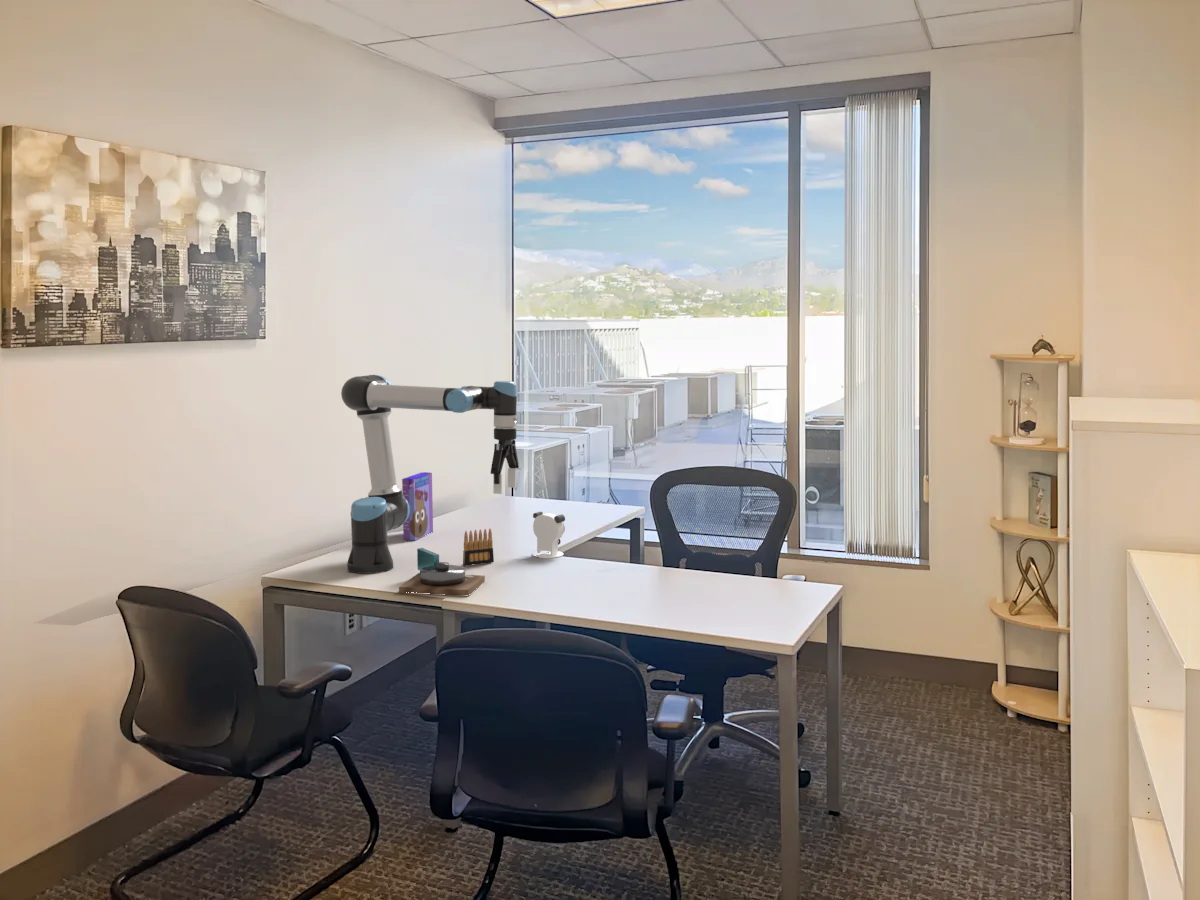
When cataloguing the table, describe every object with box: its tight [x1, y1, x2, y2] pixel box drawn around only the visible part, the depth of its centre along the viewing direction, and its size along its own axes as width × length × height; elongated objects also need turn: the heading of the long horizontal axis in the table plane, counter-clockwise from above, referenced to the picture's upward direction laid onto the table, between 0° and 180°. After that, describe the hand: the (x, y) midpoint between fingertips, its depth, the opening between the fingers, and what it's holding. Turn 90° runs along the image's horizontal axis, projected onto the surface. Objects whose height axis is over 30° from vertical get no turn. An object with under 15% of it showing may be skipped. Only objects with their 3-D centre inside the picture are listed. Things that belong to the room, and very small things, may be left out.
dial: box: [416, 547, 466, 585], centre depth 317 cm, size 23×14×7 cm, turn 36°
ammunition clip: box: [462, 528, 495, 566], centre depth 345 cm, size 11×2×12 cm, turn 118°
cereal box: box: [401, 471, 434, 542], centre depth 390 cm, size 17×5×24 cm, turn 167°
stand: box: [398, 572, 486, 596], centre depth 314 cm, size 22×18×2 cm
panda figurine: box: [532, 511, 566, 559], centre depth 358 cm, size 12×11×15 cm
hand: (504, 490), depth 337 cm, fingers open, 13 cm apart
